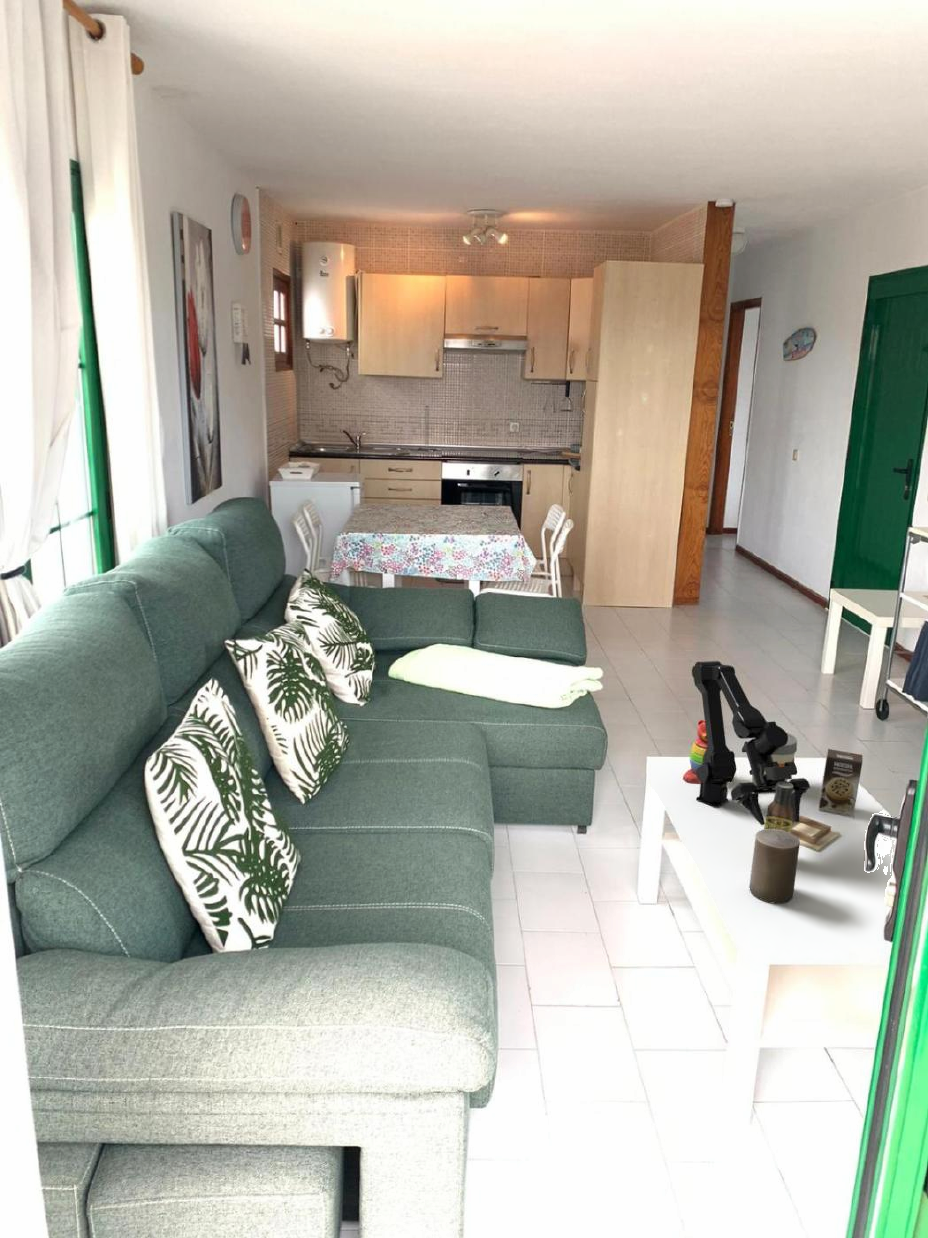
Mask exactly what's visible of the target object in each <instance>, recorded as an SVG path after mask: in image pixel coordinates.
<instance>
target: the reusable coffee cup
mask: <svg viewBox="0 0 928 1238" xmlns="http://www.w3.org/2000/svg"><path fill="white" fill-rule="evenodd" d="M786 733H787V735H788V742H787V744H786V745H785V746H783V747H782V748H781V749H780V750H779V751H777V752H776V753H775V754H773V755H772V758H773V761H774V762H777V763H778V765H779V767H782V766H784V764H785V762H794V763H795V754H796V752H797V751H798V739H797V738H796V737H795V736H794V735H792V734H790V733H788V732H786ZM752 739H755V738H750V740H752ZM751 777H752V778H751V782H753V783H754V784H755V785H756V783H755V780H754V776H753V775H751ZM785 781H786V782H788V779H785ZM775 789H776V788H775Z"/></svg>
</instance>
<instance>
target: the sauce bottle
mask: <svg viewBox="0 0 928 1238" xmlns="http://www.w3.org/2000/svg"><path fill="white" fill-rule="evenodd" d="M775 788H776V792H775V793H774V797H773V801H772V802H770V803H769V805H768V806H767V811H766V815H765V818H764V822H765V824H764V825H763V829H778V830H783V831H786V832H789V833H791V827H792V822H793V821H792V819H793V813H794V812H793V809H792V806H791V804H790V802H791V795H792V792H793V788H794V786H793V784H791V783H790V782H789V781H787V782H786V781H778V782H777V783H776V787H775Z"/></svg>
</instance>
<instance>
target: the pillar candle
mask: <svg viewBox="0 0 928 1238" xmlns="http://www.w3.org/2000/svg"><path fill="white" fill-rule="evenodd" d="M754 835H755V838H754V846H753V855H752V862H751V863H752V864H751V870H750V872H751V873H750V878H749V886H748V887H749V888H750V890H749V892H750V891H751V892H750V893H751V894H752V895H753V896H754V895H755V896H757V897H758V898H757V897H756V898H757V899H759V898H761V899H760V900H762V901H764V900H765V901H764V902H766V901H767V903H771V902H774V903H773V904H784V903H789V902H790V901H791V900H792V899H794V898H793V897H794V892H795V891H794V890H795V883H796V878H797V877H796V875H797V868H798V861H799V860H798V859H799V851H800V846H801V845H800V841H799V839H798V838H797V837H796V836H795V835H793V834H791V833H789V832H786V831H783V830H778V829H764V828H763V829H761V830H758V831H757V832H756V833H755V834H754ZM755 896H754V897H755Z"/></svg>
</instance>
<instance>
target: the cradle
mask: <svg viewBox="0 0 928 1238" xmlns="http://www.w3.org/2000/svg"><path fill="white" fill-rule="evenodd" d="M792 821H793V822H792V827H791V834H793V835H795V836H796V837H797V838H798V839H799V841H800V846H802V847H805V848H806V849H807V848H808V849H810V850H812V851H815V852H819V851H821V850H822V849H823V848H825V847H826V846H827V845H828V844H831V842H833V841H834V840H835V839H837V838H838V837H839V836H841V832H840V831H838V830H835V829H832V826H831V825H828V824H826V823H823V822H820V821H818V820H814V819H811V818H809V817H806V816H803V815H800V814H799V821H798V822H795V820H794V818H793V819H792Z"/></svg>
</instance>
